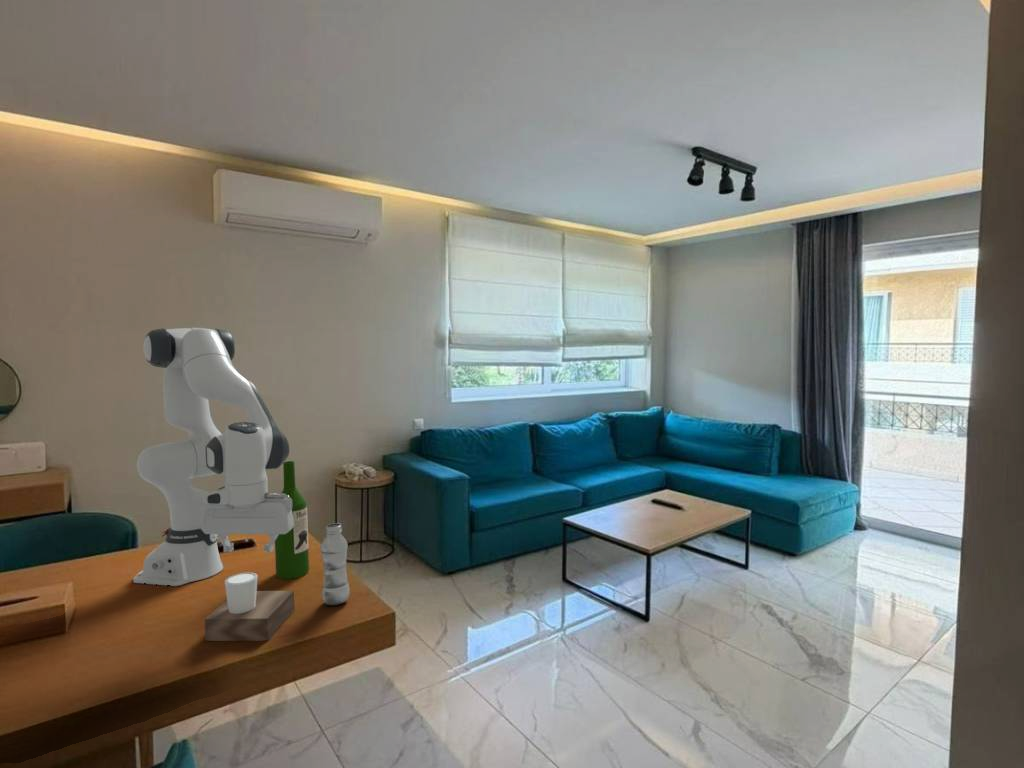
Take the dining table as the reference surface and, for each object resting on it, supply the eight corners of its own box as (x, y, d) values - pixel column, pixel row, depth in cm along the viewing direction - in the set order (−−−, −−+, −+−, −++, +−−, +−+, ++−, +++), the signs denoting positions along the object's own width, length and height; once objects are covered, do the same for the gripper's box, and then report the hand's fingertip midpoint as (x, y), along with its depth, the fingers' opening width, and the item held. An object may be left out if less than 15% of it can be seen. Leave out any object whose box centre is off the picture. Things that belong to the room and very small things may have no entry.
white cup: (255, 598, 128) (254, 569, 128) (261, 609, 123) (260, 579, 123) (223, 606, 124) (222, 577, 124) (228, 618, 119) (227, 587, 118)
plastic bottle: (354, 601, 137) (352, 524, 136) (330, 611, 132) (327, 531, 131) (341, 594, 141) (339, 519, 140) (317, 603, 136) (314, 526, 135)
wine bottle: (296, 580, 150) (292, 465, 149) (269, 577, 153) (264, 464, 151) (315, 568, 159) (311, 459, 157) (289, 565, 161) (285, 458, 159)
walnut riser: (205, 641, 119) (204, 619, 119) (238, 611, 133) (237, 591, 133) (268, 640, 119) (267, 618, 118) (294, 610, 133) (293, 590, 132)
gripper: (297, 489, 127) (298, 546, 128) (211, 489, 127) (213, 546, 128) (285, 497, 121) (287, 556, 122) (195, 496, 121) (198, 556, 122)
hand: (248, 551), depth 125 cm, fingers open, 8 cm apart
